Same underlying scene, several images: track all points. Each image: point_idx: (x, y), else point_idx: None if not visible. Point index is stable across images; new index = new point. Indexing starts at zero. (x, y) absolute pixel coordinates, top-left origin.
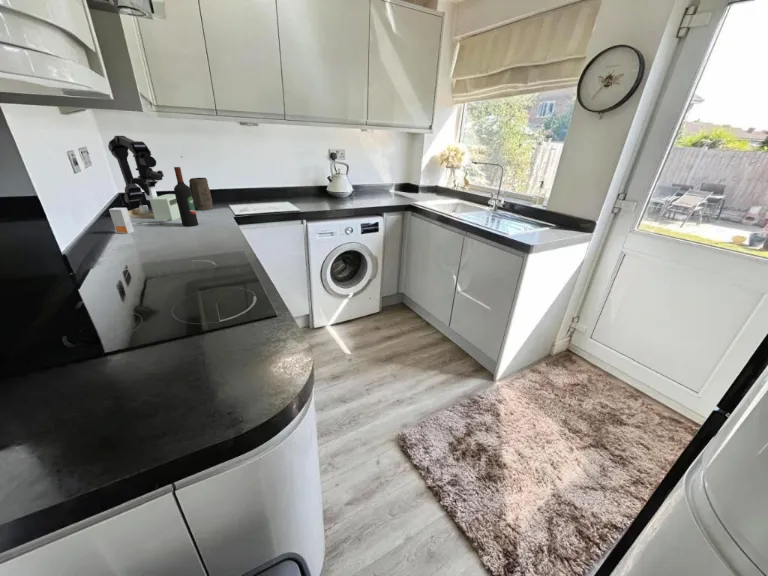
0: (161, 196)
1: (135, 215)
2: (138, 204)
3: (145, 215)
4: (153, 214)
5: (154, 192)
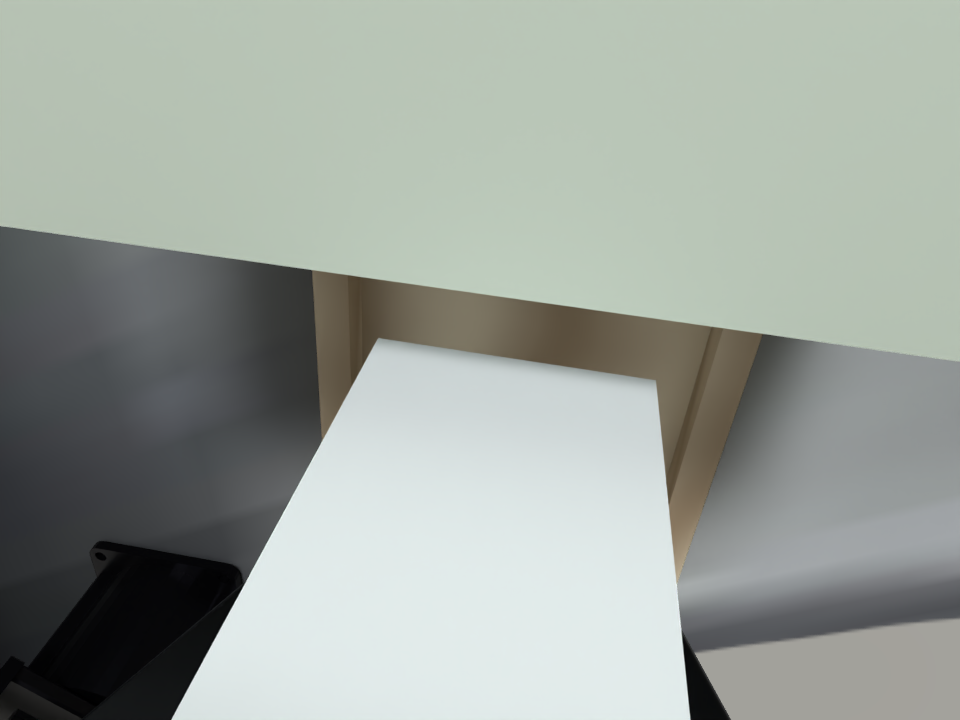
0: (495, 147)
1: (697, 520)
2: (136, 662)
3: (746, 374)
4: (458, 326)
5: (422, 558)
